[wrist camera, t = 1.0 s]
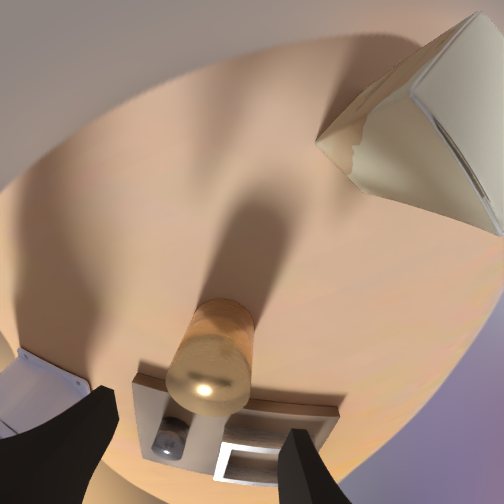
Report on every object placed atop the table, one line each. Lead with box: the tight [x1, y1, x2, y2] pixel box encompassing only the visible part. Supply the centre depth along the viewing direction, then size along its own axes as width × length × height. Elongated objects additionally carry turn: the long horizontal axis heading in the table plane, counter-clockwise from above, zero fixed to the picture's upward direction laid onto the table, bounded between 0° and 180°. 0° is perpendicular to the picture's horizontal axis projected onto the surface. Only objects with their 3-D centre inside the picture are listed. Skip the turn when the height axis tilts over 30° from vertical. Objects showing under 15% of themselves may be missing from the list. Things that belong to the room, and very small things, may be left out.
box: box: [315, 11, 504, 237], centre depth 9 cm, size 5×4×11 cm
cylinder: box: [165, 299, 254, 417], centre depth 15 cm, size 4×4×6 cm
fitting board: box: [132, 373, 340, 487], centre depth 19 cm, size 16×12×4 cm
